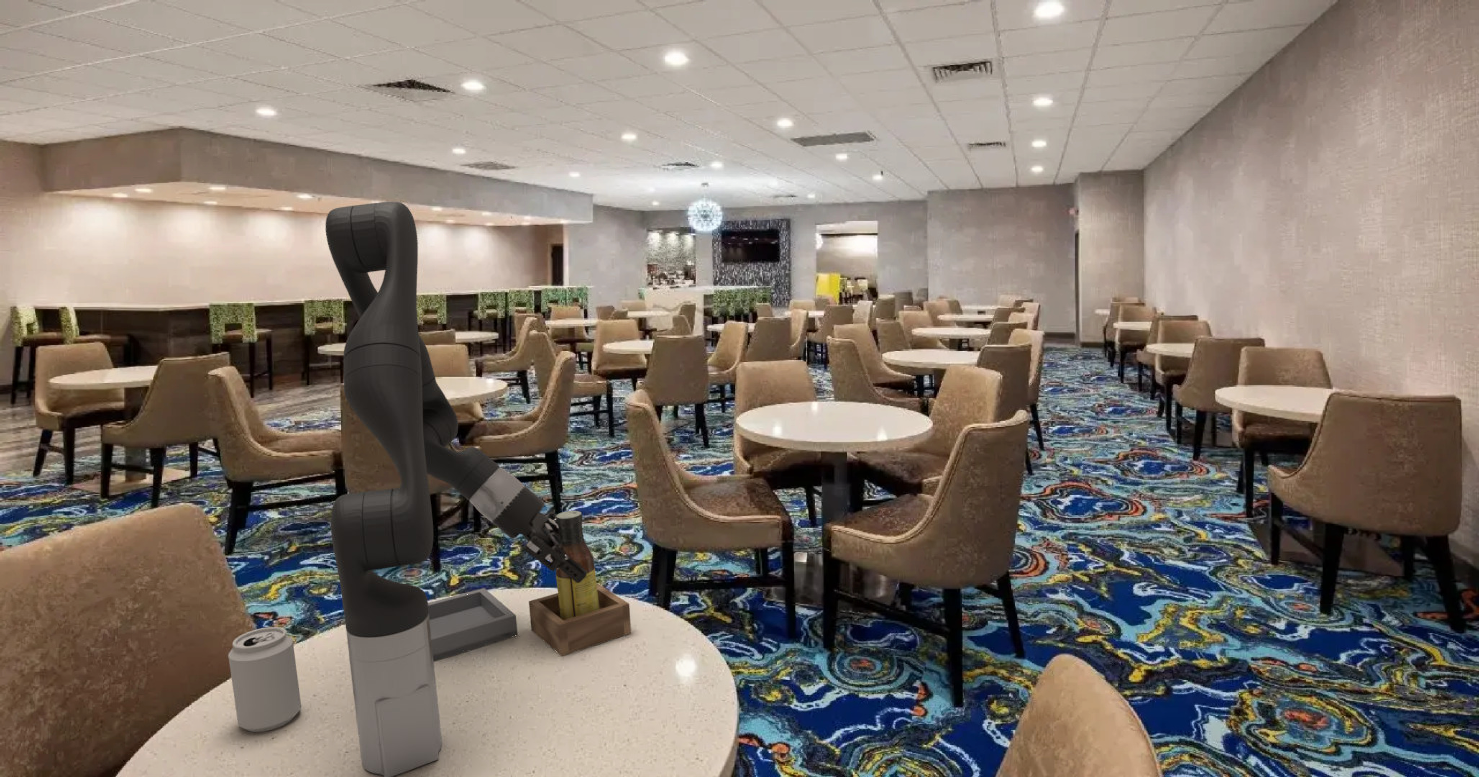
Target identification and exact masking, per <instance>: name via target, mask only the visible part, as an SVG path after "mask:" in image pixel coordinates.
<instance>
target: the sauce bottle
mask: <svg viewBox="0 0 1479 777" xmlns="http://www.w3.org/2000/svg"><path fill="white" fill-rule="evenodd" d="M556 515H557V516H556V521H557V525H558V527H559V536H560V538H559V540H560V541H561V542H562V544H563V547H562V548H563V550H564V551H565V552H566V553H567V554H568V556H569V557H570V558H572V559H573V560H574V561H575V562H577V563H578V564H579V565H580V566H581V567H582V568H584V569H585V570H586V571H587V575H586V577H585V578H584V579H583V580H582V581H581V582H580V583H577V582H575V581H574V580H573V579H572V578H571V577H569V576H568V575H567V574H566V573H565V572H563V571H562V570H561V569H559V570H558V569H555V580H556V587H557V593H558V597H559V606H560V616H561V619H562V620H566V619H570V618H573V617H576V616H580V615H583V614H586V613H589V612H593V611H596V610H599V601H598V592H597V584H598V583H597V577H596V566H595V561H594V559H593V557H594V556H593V557H592V552H591V551H590V548H589V547H588V545H587V543H586V540H585V539H584V538H585V535H584V531H583V520H584V519H583V514H582V512H581V511H578V510H567V511H564V512H560V513H558V514H556ZM570 558H569V559H570Z"/></svg>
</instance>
